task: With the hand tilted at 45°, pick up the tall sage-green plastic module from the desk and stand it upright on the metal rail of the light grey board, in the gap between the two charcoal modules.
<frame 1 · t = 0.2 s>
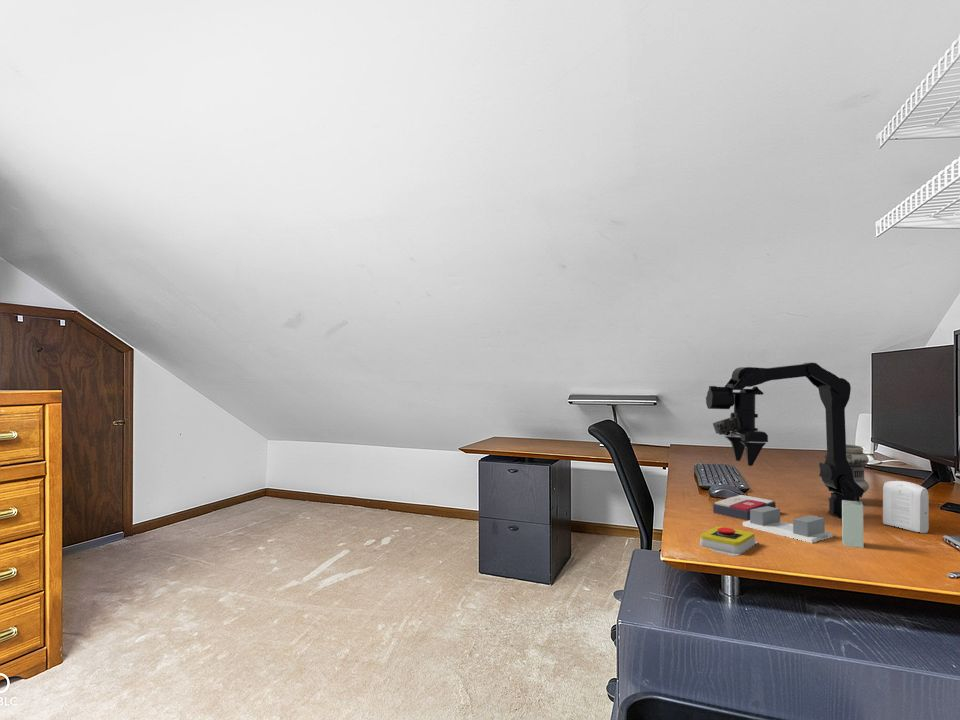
hand: (743, 463, 166), 15 cm above the table, tool pointing down, fingers open, 9 cm apart
emergency button: (728, 547, 135), on the table
calculator: (744, 515, 166), on the table
white rounded upright block: (905, 529, 150), on the table
rail board: (786, 531, 147), on the table
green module: (852, 544, 136), on the table
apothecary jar: (846, 502, 181), on the table
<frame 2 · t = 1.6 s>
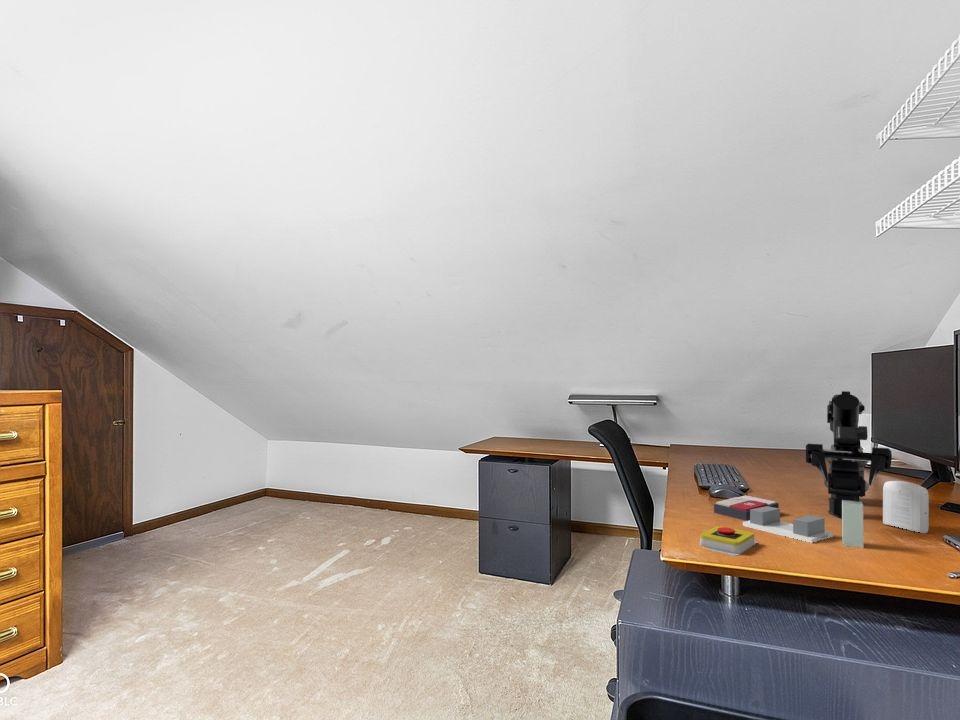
hand: (848, 482, 143), 13 cm above the table, tool tilted 45°, fingers open, 9 cm apart
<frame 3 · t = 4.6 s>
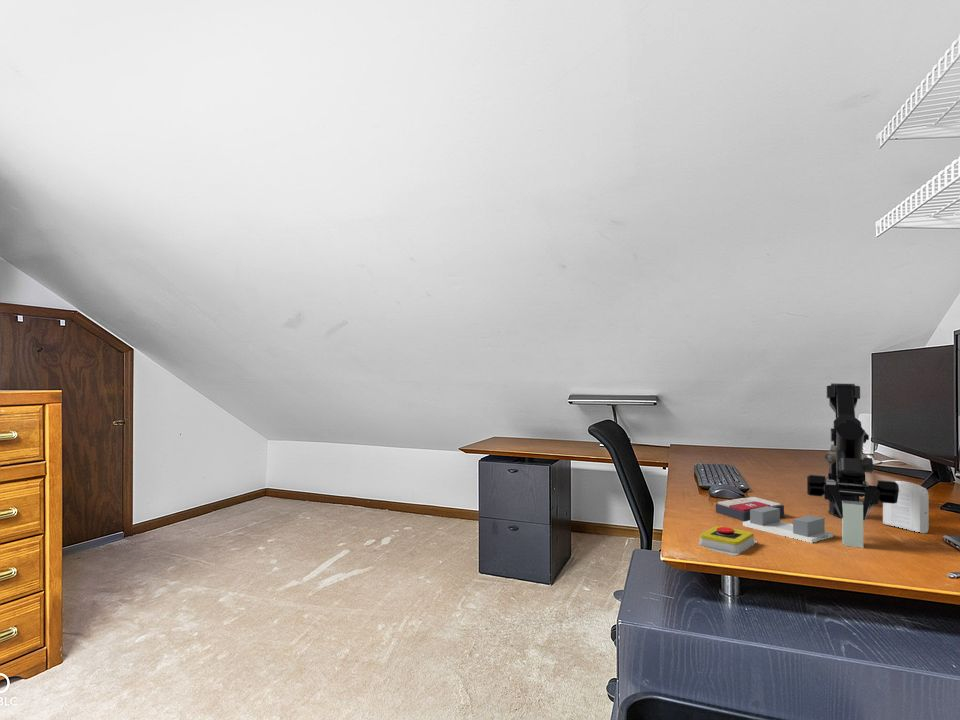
hand: (852, 518, 135), 7 cm above the table, tool tilted 45°, fingers closed on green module, 4 cm apart
calculator: (749, 516, 164), on the table
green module: (852, 544, 136), on the table, touching gripper
everything else where it was.
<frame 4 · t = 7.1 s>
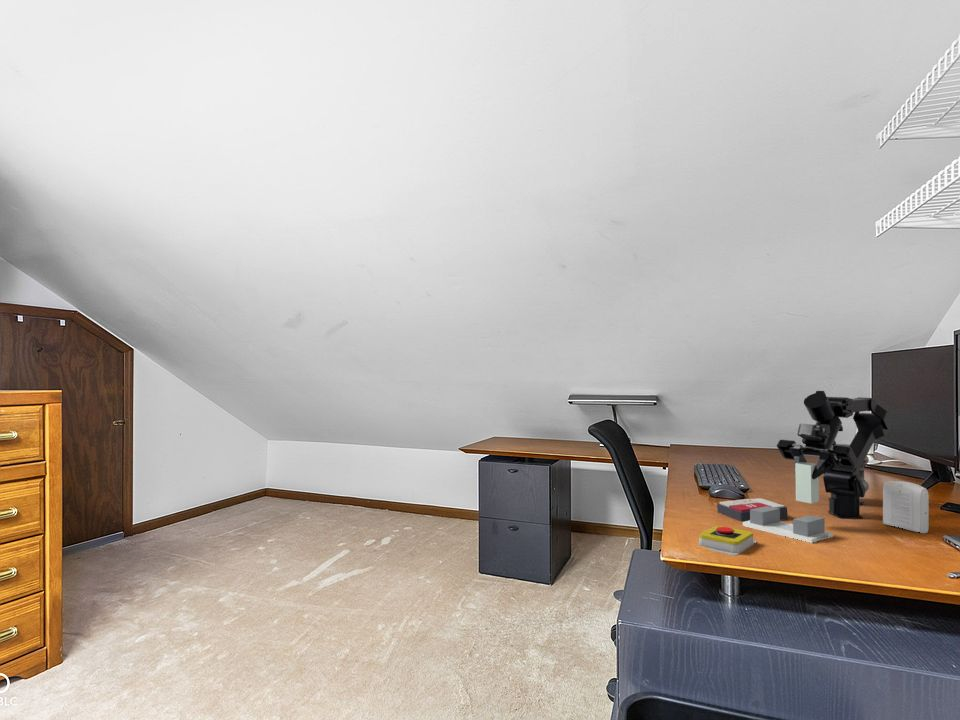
hand: (804, 476, 151), 13 cm above the table, tool tilted 45°, fingers closed on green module, 4 cm apart
calculator: (751, 517, 163), on the table
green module: (807, 501, 151), point 7 cm above the table, touching gripper
everything else where it was.
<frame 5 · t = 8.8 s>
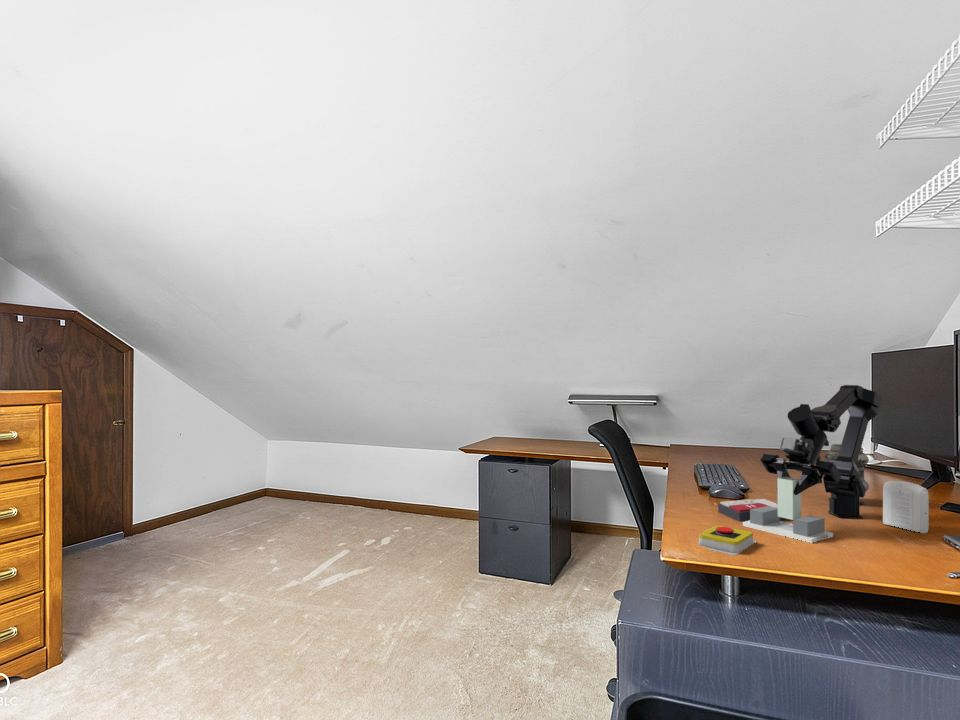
hand: (786, 492, 147), 10 cm above the table, tool tilted 45°, fingers closed on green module, 4 cm apart
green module: (789, 517, 148), point 3 cm above the table, touching gripper
when the fingers open (9 cm above the table, at t = 9.9 s): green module drops 1 cm, resting on rail board.
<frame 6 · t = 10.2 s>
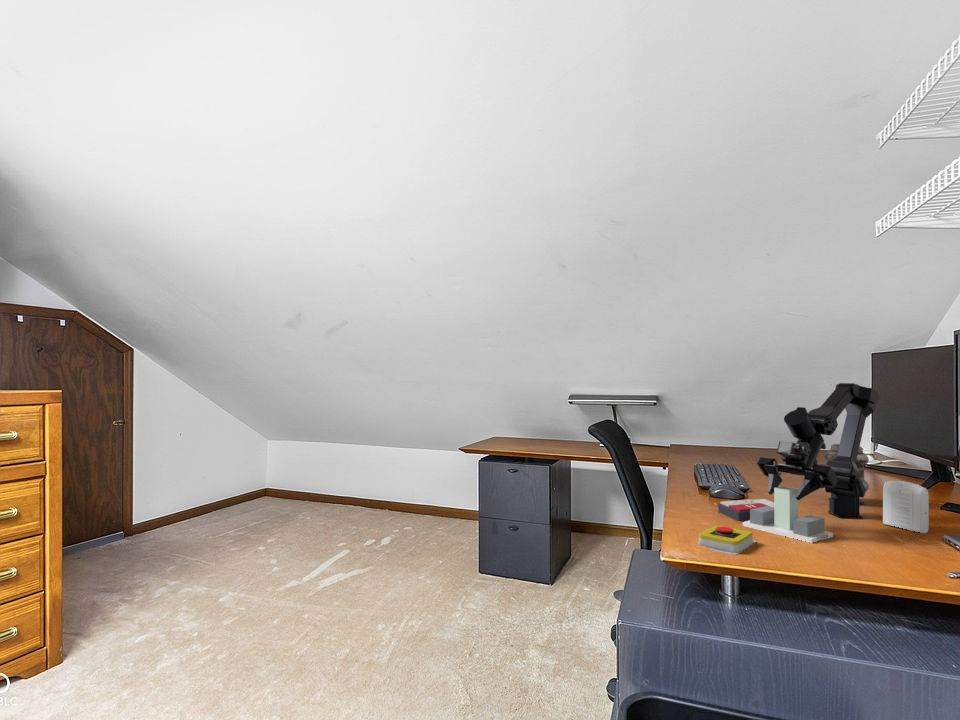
hand: (783, 496, 146), 9 cm above the table, tool tilted 45°, fingers open, 7 cm apart
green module: (786, 526, 147), point 1 cm above the table, touching rail board
everything else where it was.
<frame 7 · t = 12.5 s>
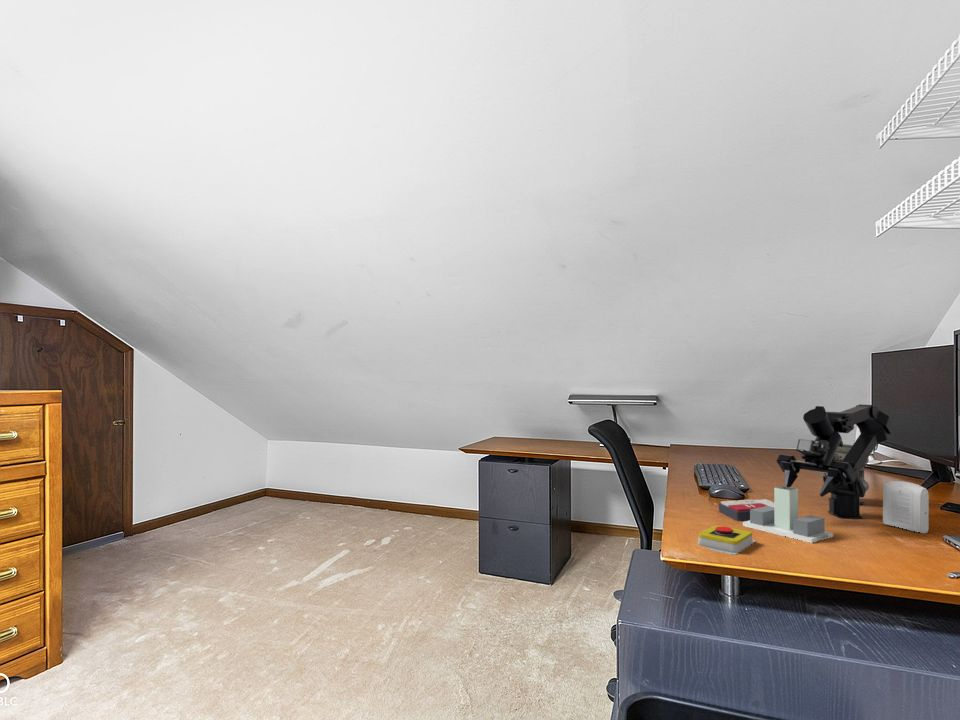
hand: (802, 492, 151), 9 cm above the table, tool tilted 45°, fingers open, 9 cm apart
nothing on the table moved.
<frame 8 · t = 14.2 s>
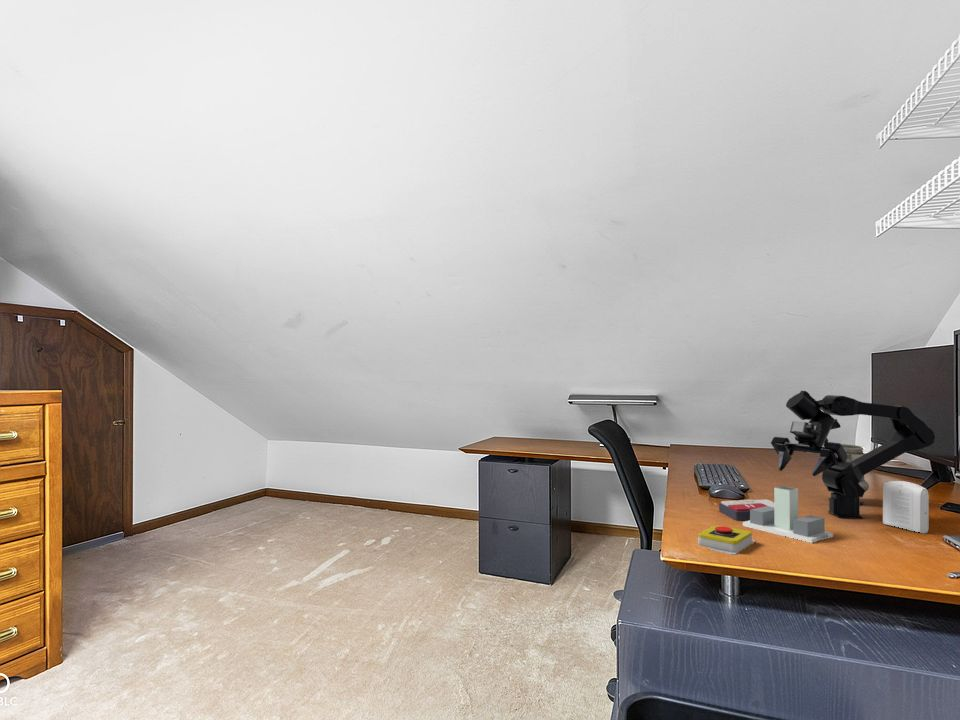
hand: (796, 472, 156), 14 cm above the table, tool tilted 45°, fingers open, 9 cm apart
at the end: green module 0.0 cm off-centre on the rail board, point 1.1 cm above the rail board's base; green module tilted 0°; the gripper is holding nothing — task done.
